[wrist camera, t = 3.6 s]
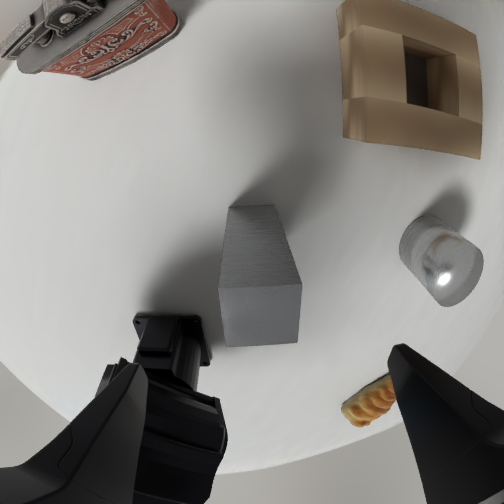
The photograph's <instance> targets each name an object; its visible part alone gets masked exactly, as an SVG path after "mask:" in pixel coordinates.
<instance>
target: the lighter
mask: <svg viewBox="0 0 504 504" xmlns="http://www.w3.org/2000/svg"><path fill="white" fill-rule="evenodd" d="M181 26H182V23H181V19H180V17H179V16H178V14H177V13H176V11H174V10H173V9H171V8H169V6H168V5H167V3H166V2H165V1H164V0H42V4H41V5H40V6H39V7H38V8H37V9H36V10H34V11H33V12H32V13H31V14H30V15H28V16H27V17H26V18H25V19H23V20H22V21H21V22H20V23H19V24H18V25H17V26H16V27H15V28H14V29H13V30H12V31H11V32H10V33H9V34H8V35H7V36H6V38H4V40H3V41H2V42H1V43H0V58H1V59H3V60H17V66H18V69H19V70H20V71H21V72H22V73H26V74H37V73H40V72H41V71H44V72H53V73H61V74H69V75H76V76H79V77H80V78H81V79H85V80H91V81H93V80H97V79H99V78H101V77H104V76H106V75H109V74H111V73H114V72H116V71H118V70H120V69H122V68H124V67H126V66H128V65H130V64H132V63H134V62H136V61H138V60H139V59H141V58H143V57H145V56H146V55H148V54H150V53H152V52H153V51H155V50H157V49H158V48H160V47H161V46H163V45H164V44H166V43H167V42H169V41H170V40H172V39H174V38H175V37H176V36H177V35H178V34H179V32H180V30H181Z"/></svg>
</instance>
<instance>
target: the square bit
mask: <svg viewBox="0 0 504 504" xmlns="http://www.w3.org/2000/svg"><path fill="white" fill-rule="evenodd" d="M301 291H302V283H301V280H300V277H299V274H298V271H297V268H296V265H295V262H294V259H293V256H292V253H291V250H290V247H289V245H288V242H287V239H286V236H285V233H284V230H283V228H282V225H281V222H280V219H279V216H278V214H277V211H276V208H275V205H260V206H240V207H229V208H228V216H227V223H226V230H225V237H224V245H223V253H222V260H221V268H220V276H219V285H218V292H219V300H220V308H221V315H222V322H223V329H224V336H225V343H226V347H238V346H259V345H274V344H287V343H297V341H298V330H299V318H300V305H301Z"/></svg>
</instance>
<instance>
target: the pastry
mask: <svg viewBox="0 0 504 504" xmlns="http://www.w3.org/2000/svg"><path fill="white" fill-rule="evenodd" d="M395 401H396V397H395V393H394V389H393V384H392V380H391V376H390V374H389V375H386V376H384V377H383V378H382V379H380V380H378V381H376V382H374V383H372V384H369V385H367V386H366V387H364V389H362V390H361V391H359V392H358V393H356V394H355V395H353V396H352V397H351V398H349V399H348V400H347V401H346V402H344V403H343V405H342V407H341V412H342V413H343V415H344V416H345V418H346V419H348V420H349V421H350V423H351V424H352V425H354V426H356V427H363V426H365V425H369V424H370V422H371V421H372V420H375V419H377V418H379V417H380V416H381V415H383V414H385V413H387V412H388V411H389V410H390V407H391V406H392V404H393V403H394V402H395Z"/></svg>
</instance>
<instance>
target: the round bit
mask: <svg viewBox="0 0 504 504" xmlns="http://www.w3.org/2000/svg"><path fill="white" fill-rule="evenodd" d="M399 255H400V259H401V261H402V262H403V263H404V265H405V266H406V267H407V268H408V269H409V270H410V271H411V272H412V273H413V274H414V276H415V277H416V278H417V279H418V280H419V281H420V282H421V283H422V285H423V286H424V287H425V288H426V289H427V290H428V292H429V293H430V294H431V295H432V296H433V297H434V299H435V300H436V301H437V302H438V303H439V304H440V305H441V306H444V307H450V306H454V305H456V304H458V303H460V302H461V301H463V300H464V299H465V298H466V297H467V296H468V295H469V294H470V293H471V292H472V290H473V289H474V288H475V286H476V285H477V283H478V281H479V279H480V276H481V273H482V270H483V255H482V252H481V251H480V249H479V248H477V247H476V246H475V245H473V244H472V243H471V242H469V241H468V240H467V239H465V238H464V237H463V236H461V235H460V234H459V233H457V232H456V231H454V230H453V229H452V228H450V227H449V226H447V225H446V224H444V223H443V222H441V221H440V220H439V219H437V218H436V217H434V216H430V215H426V216H421V217H419V218H417V219H415V220H414V221H413V222H412V223H411V224H410V225H409V226H408V227H407V228H406V230H405V231H404V233H403V235H402V237H401V240H400V244H399Z"/></svg>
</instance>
